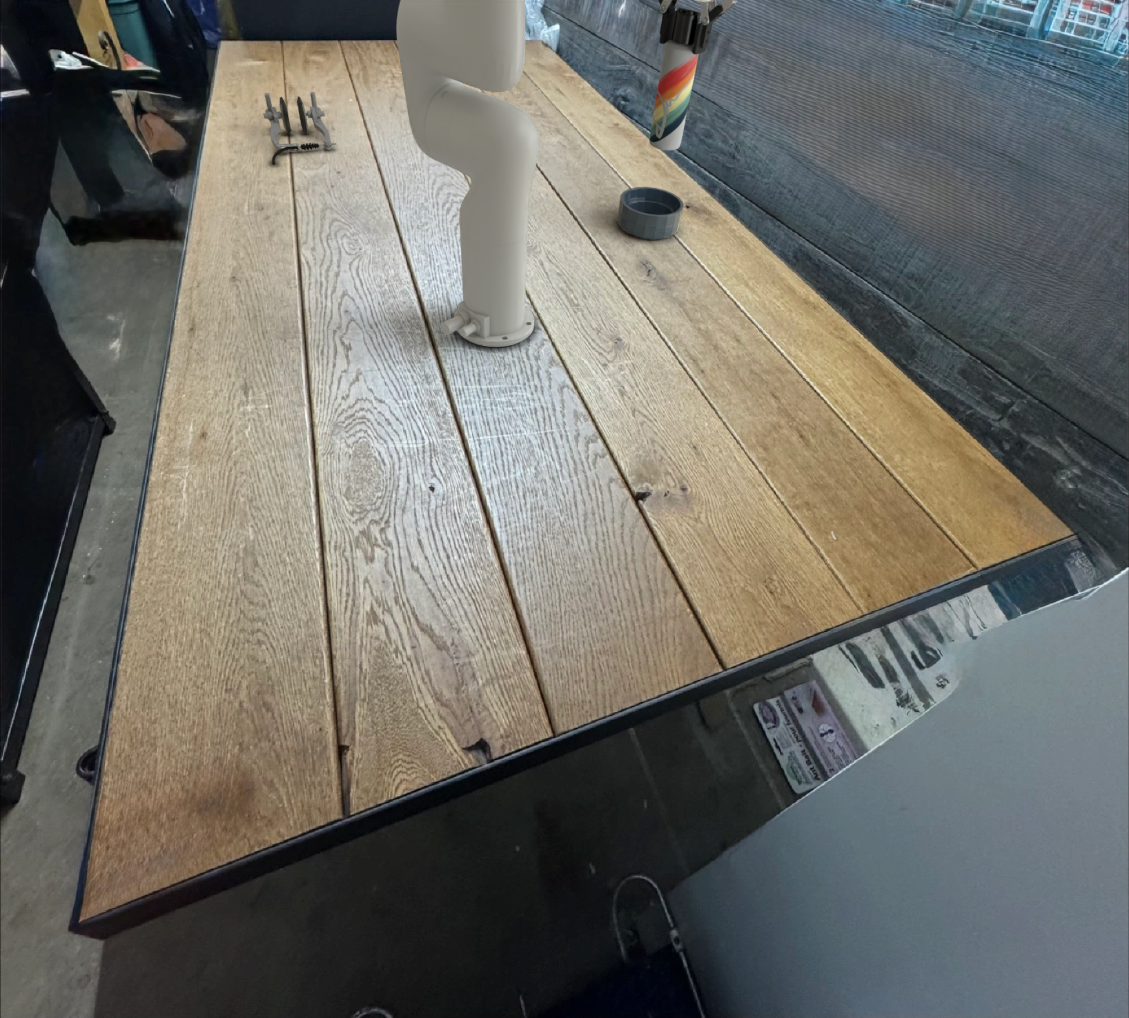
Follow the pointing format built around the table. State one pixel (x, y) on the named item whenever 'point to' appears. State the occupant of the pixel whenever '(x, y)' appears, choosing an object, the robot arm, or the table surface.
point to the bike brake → (275, 127)
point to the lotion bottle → (675, 82)
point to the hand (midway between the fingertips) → (682, 46)
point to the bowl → (649, 212)
